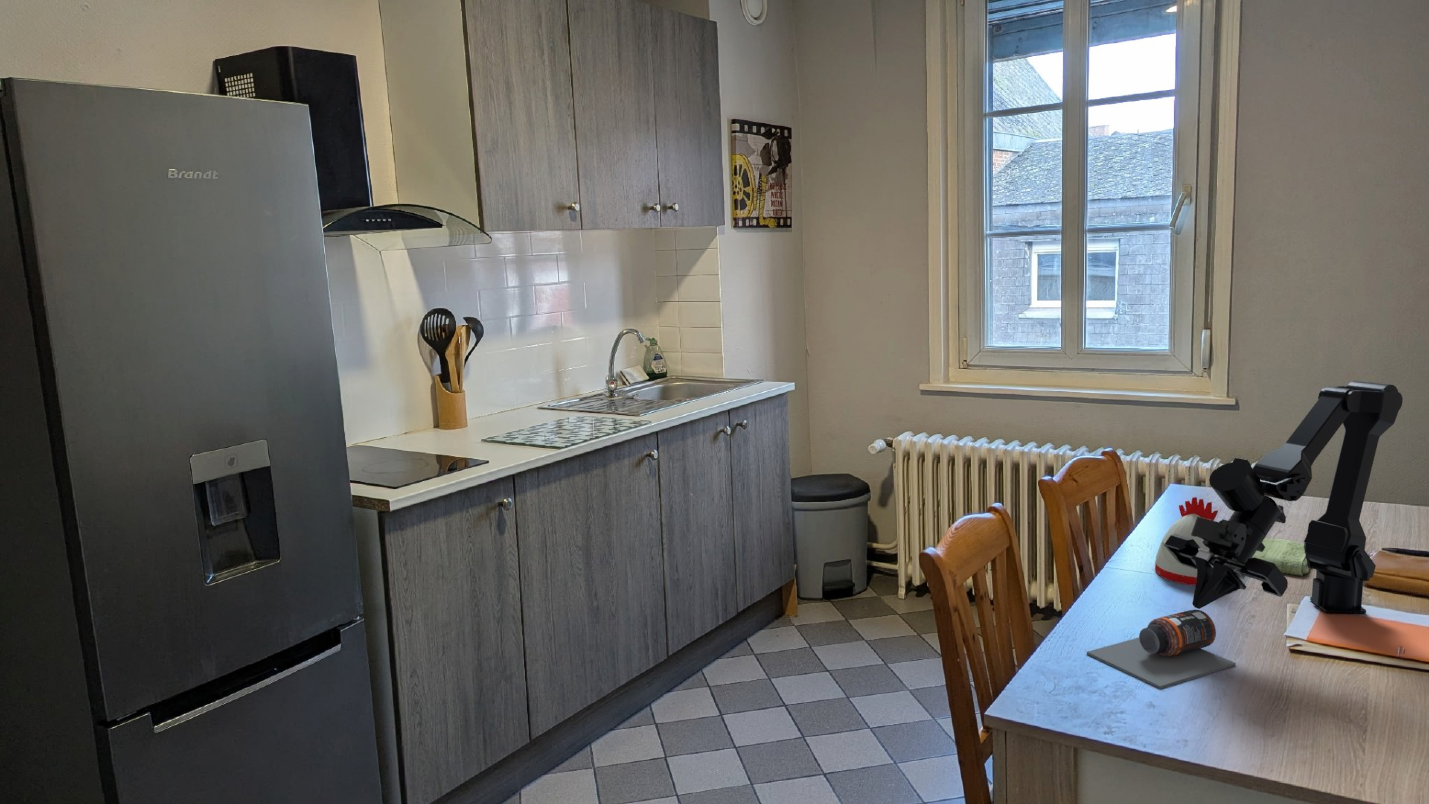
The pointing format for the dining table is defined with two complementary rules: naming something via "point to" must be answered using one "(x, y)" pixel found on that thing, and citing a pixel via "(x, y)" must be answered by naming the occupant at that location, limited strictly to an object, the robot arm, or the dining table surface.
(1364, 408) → the robot arm
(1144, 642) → the supplement bottle
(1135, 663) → the mat
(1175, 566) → the kitchen timer
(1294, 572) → the washcloth
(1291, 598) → the dining table surface
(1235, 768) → the dining table surface
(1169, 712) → the dining table surface
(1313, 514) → the dining table surface
